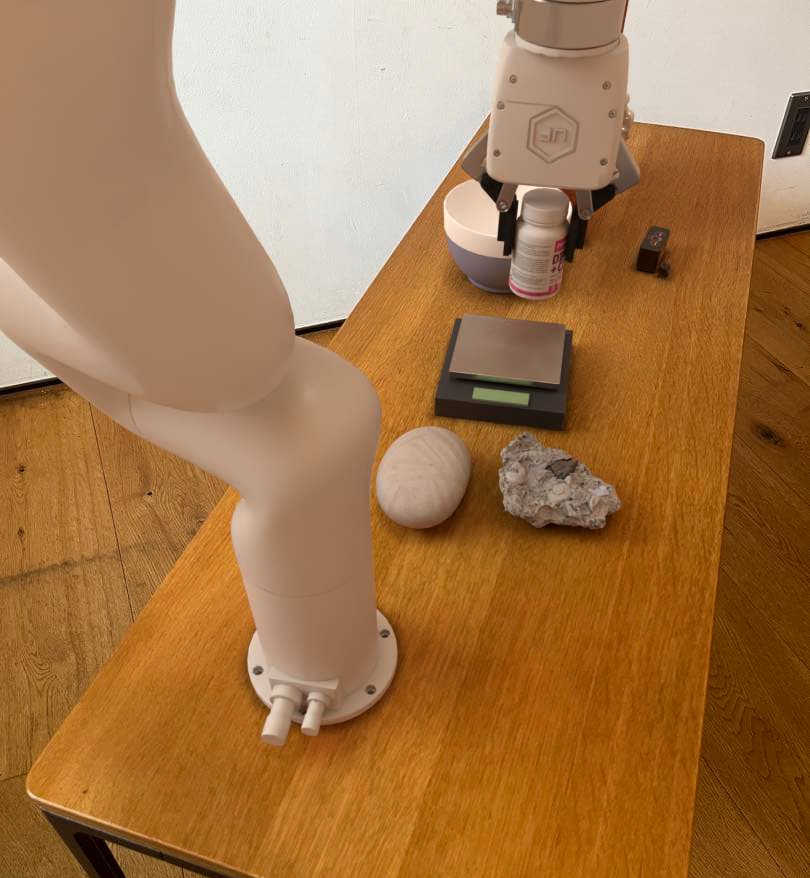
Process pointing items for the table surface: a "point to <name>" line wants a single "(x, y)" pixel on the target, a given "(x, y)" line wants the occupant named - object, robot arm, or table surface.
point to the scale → (503, 395)
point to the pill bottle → (540, 244)
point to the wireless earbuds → (654, 251)
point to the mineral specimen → (552, 486)
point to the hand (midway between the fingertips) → (539, 249)
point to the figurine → (626, 123)
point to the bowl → (479, 235)
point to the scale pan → (509, 351)
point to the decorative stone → (423, 477)
